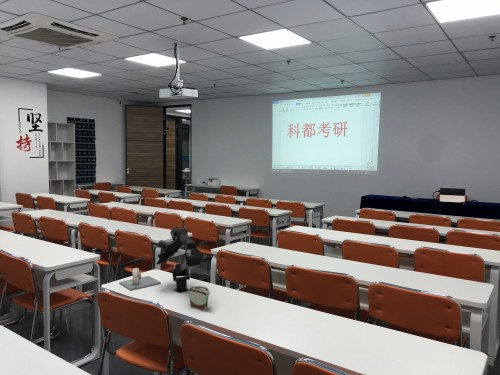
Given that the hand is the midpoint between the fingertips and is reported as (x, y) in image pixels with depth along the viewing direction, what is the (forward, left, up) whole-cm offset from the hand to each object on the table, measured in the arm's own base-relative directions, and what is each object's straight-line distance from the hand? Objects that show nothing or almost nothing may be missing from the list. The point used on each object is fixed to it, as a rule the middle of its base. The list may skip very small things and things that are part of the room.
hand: (157, 264), depth 225 cm
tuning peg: (+13, +7, -12) cm, 19 cm away
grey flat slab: (+11, +5, -14) cm, 18 cm away
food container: (-42, -3, -14) cm, 44 cm away
